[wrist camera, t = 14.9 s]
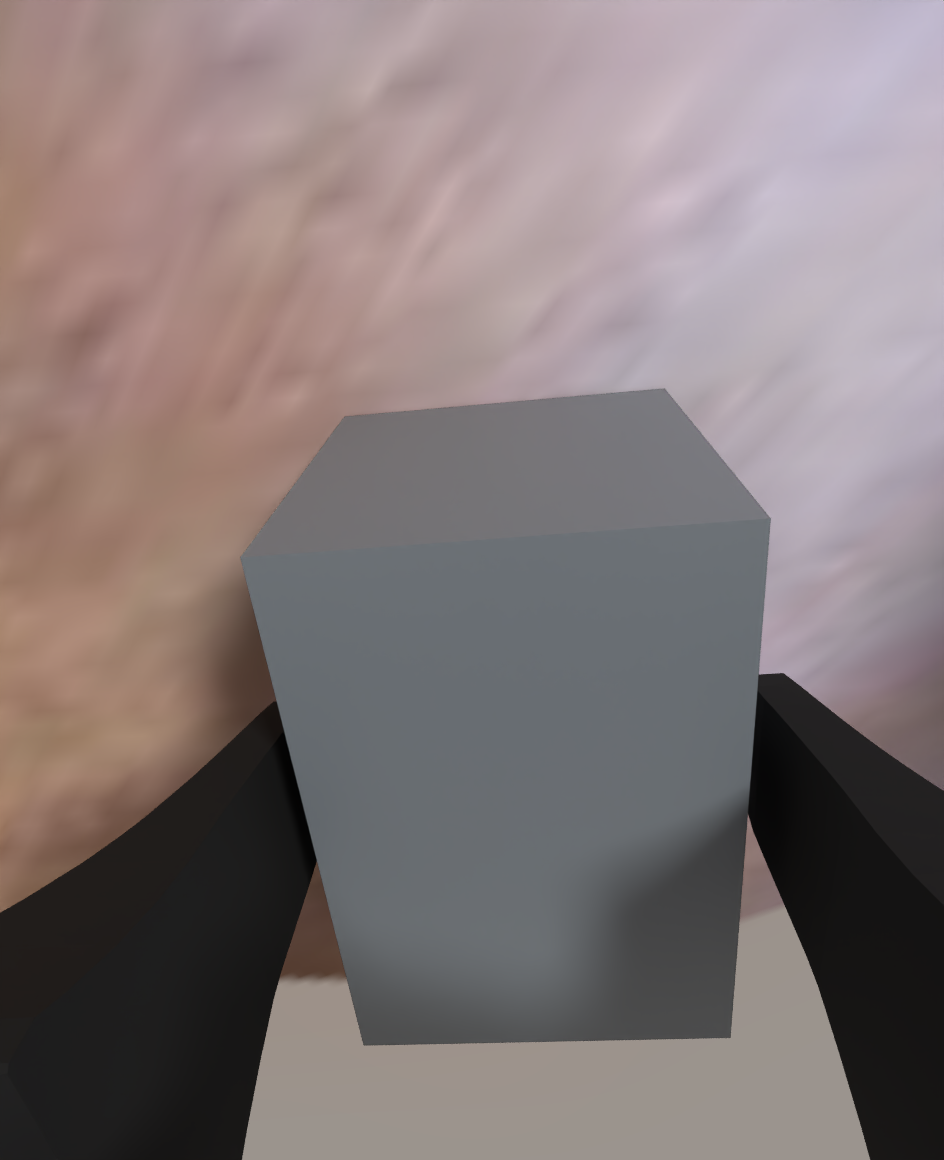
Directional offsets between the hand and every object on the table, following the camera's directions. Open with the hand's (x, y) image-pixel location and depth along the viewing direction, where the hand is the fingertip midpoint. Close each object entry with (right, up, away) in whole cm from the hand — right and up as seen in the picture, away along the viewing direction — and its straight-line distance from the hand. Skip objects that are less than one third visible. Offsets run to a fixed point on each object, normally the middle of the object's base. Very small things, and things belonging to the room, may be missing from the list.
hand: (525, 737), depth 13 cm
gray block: (0, +2, +4) cm, 4 cm away
